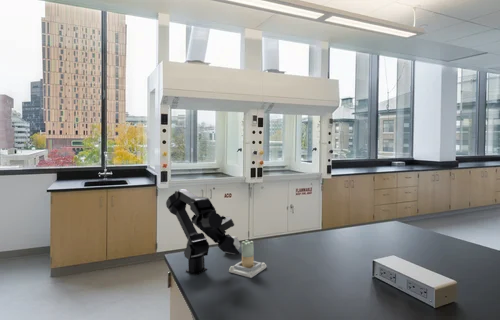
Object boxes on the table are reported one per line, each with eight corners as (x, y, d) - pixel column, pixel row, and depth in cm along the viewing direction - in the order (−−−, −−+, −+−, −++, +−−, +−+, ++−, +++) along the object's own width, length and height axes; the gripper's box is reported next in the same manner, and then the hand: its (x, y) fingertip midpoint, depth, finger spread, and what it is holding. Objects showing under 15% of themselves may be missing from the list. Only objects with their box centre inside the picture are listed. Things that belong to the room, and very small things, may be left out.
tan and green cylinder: (249, 270, 131) (249, 244, 131) (239, 267, 134) (239, 242, 133) (255, 266, 135) (255, 241, 135) (246, 263, 138) (245, 239, 138)
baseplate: (251, 277, 127) (251, 272, 127) (228, 271, 133) (228, 266, 133) (266, 267, 137) (266, 262, 137) (244, 262, 143) (244, 257, 143)
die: (243, 252, 157) (236, 234, 161) (241, 249, 150) (234, 230, 154) (228, 259, 157) (221, 240, 161) (225, 256, 149) (218, 237, 153)
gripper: (228, 216, 121) (256, 241, 126) (215, 207, 139) (240, 229, 143) (208, 239, 119) (237, 263, 123) (198, 227, 136) (223, 249, 141)
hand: (235, 250), depth 133 cm, fingers open, 9 cm apart
